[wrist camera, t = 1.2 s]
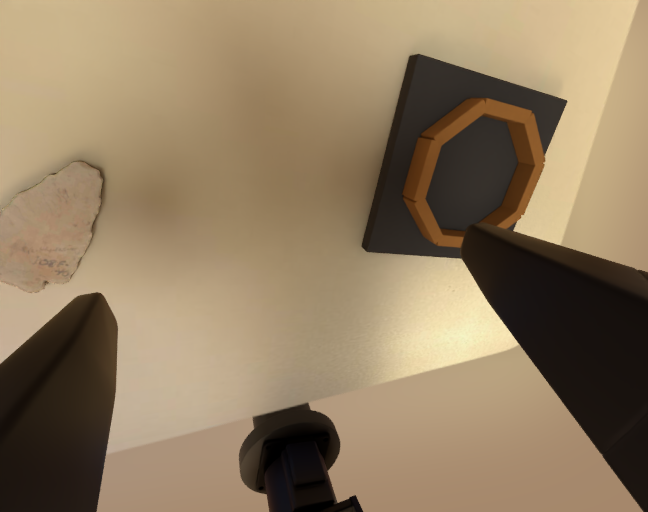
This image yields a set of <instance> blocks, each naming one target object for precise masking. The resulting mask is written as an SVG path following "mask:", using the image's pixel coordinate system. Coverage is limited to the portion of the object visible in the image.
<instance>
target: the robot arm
mask: <svg viewBox="0 0 648 512" xmlns="http://www.w3.org/2000/svg"><path fill="white" fill-rule="evenodd" d="M460 255H461V258H462V259H463V261H464V263H465V265H466V266H467V268H468V270H469V271H470V273H471V275H472V276H473V278H474V280H475V281H476V283H477V285H478V286H479V288H480V290H481V291H482V293H483V295H484V296H485V298H486V299H487V301H488V302H489V304H490V305H491V307H492V308H493V309H494V311H495V312H496V313H497V315H498V316H499V317H500V319H501V320H502V321H503V323H504V324H505V326H506V327H507V328H508V330H509V331H510V332H511V334H512V335H513V336H514V338H515V339H516V340H517V342H518V343H519V344H520V346H521V347H522V348H523V350H524V351H525V352H526V354H527V355H528V356H529V358H530V359H531V360H532V362H533V363H534V365H535V366H536V367H537V368H538V369H539V371H540V373H541V374H542V375H543V377H544V378H545V379H546V381H547V382H548V383H549V385H550V386H551V387H552V389H553V390H554V391H555V393H556V394H557V395H558V397H559V398H560V399H561V401H562V402H563V403H564V405H565V406H566V408H567V409H568V410H569V412H570V413H571V414H572V416H573V417H574V418H575V420H576V421H577V422H578V424H579V425H580V426H581V428H582V429H583V430H584V432H585V433H586V434H587V436H588V437H589V438H590V440H591V441H592V443H593V444H594V445H595V447H596V448H597V449H598V451H599V452H600V453H601V454H603V455H602V456H603V458H604V459H605V460H606V462H607V463H608V465H609V466H610V467H611V469H612V470H613V471H614V473H615V474H616V475H617V477H618V478H619V479H620V481H621V482H622V483H623V485H624V486H625V487H626V489H627V490H628V491H629V493H630V494H631V496H632V497H633V498H634V499H635V501H636V502H637V504H638V505H639V506H640V508H641V509H642V510H643V512H648V272H645V271H642V270H636V269H635V268H632V267H629V266H625V265H622V264H619V263H615V262H612V261H609V260H606V259H602V258H599V257H596V256H592V255H589V254H586V253H583V252H579V251H576V250H573V249H570V248H566V247H563V246H560V245H557V244H553V243H550V242H547V241H543V240H540V239H537V238H534V237H530V236H527V235H524V234H521V233H517V232H514V231H511V230H507V229H504V228H501V227H498V226H494V225H491V224H488V223H484V222H481V223H475V224H471V225H469V226H468V227H467V228H466V231H465V234H464V238H463V241H462V245H461V248H460ZM117 339H118V326H117V321H116V319H115V316H114V315H113V313H112V311H111V309H110V307H109V305H108V303H107V301H106V299H105V297H104V296H103V295H102V294H101V293H98V292H96V293H91V294H85V295H80V296H77V297H76V298H75V299H73V300H72V301H71V302H70V303H69V304H68V305H67V306H65V307H64V308H63V309H62V310H61V311H60V312H59V313H58V314H56V315H55V316H54V317H53V318H52V319H51V320H50V321H49V322H47V323H46V324H45V325H44V326H43V327H42V328H41V329H40V330H38V331H37V332H36V333H35V334H34V335H33V336H32V337H30V338H29V339H28V340H27V341H26V342H25V343H24V344H23V345H21V346H20V347H19V348H18V349H17V350H16V351H15V352H14V353H12V354H11V355H10V356H9V357H8V358H7V359H6V360H4V361H3V362H2V363H1V364H0V512H96V511H97V505H98V499H99V492H100V486H101V481H102V474H103V468H104V462H105V456H106V450H107V444H108V438H109V432H110V426H111V420H112V414H113V408H114V401H115V393H116V370H117ZM330 439H331V437H330V435H329V433H327V432H325V433H317V434H309V435H302V436H294V437H286V438H278V439H271V440H266V441H265V442H264V443H263V445H262V450H261V456H260V462H259V467H258V473H257V478H256V484H255V486H256V491H258V492H260V491H266V492H267V499H268V506H269V512H363V510H362V508H361V506H360V504H359V502H358V500H357V497H356V495H355V496H352V497H350V498H349V499H347V500H345V501H342V502H340V503H337V500H336V497H335V494H334V491H333V487H332V484H331V481H330V478H329V475H328V472H327V468H326V465H325V462H324V461H325V457H326V454H327V450H328V447H329V443H330Z"/></svg>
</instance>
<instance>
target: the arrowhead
mask: <svg viewBox="0 0 648 512" xmlns="http://www.w3.org/2000/svg"><path fill="white" fill-rule="evenodd" d="M102 182H103V178H102V177H101V176H100V171H99V170H97V169H95V168H92V167H91V166H89V165H87V164H86V163H85V162H81V161H78V162H77V161H76V162H71V164H70V165H69V166H67V167H64V168H63V169H62V170H60V171H59V172H58V173H57V174H55V175H48V176H47V177H45V178H44V179H43V181H42V182H41V183H39V184H36V185H35V186H34V187H32V188H30V189H28V190H26V191H24V192H20V193H18V194H16V196H15V197H14V198H13V200H12V201H11V202H10V204H9V205H8V206H6V207H5V208H3V210H2V212H1V214H0V281H2V282H4V283H6V284H9V285H12V286H15V287H18V288H19V289H21V290H23V291H26V292H29V293H32V292H35V293H36V292H39V291H40V290H42V289H45V282H44V281H49V282H50V283H56V284H64V283H67V282H69V281H70V278H71V275H72V274H73V273H74V272H75V270H76V269H77V268H78V266H77V264H78V262H79V260H80V258H81V257H82V256H83V255H84V253H85V250H86V248H87V247H88V246H89V242H90V240H91V238H92V236H93V234H92V224H93V222H94V220H95V218H96V215H97V214H98V212H99V206H100V205H101V199H102V198H101V197H100V195H101V189H102Z"/></svg>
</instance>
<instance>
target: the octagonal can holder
mask: <svg viewBox="0 0 648 512" xmlns="http://www.w3.org/2000/svg"><path fill="white" fill-rule="evenodd" d="M566 103H567V100H564V99H561V98H558V97H555V96H551V95H548V94H545V93H542V92H539V91H535V90H532V89H529V88H526V87H523V86H519V85H516V84H513V83H510V82H507V81H503V80H500V79H497V78H494V77H491V76H487V75H484V74H481V73H478V72H475V71H471V70H468V69H465V68H462V67H459V66H455V65H452V64H449V63H446V62H443V61H440V60H436V59H433V58H430V57H427V56H424V55H420V54H417V55H412V56H410V57H409V61H408V65H407V69H406V73H405V77H404V81H403V85H402V89H401V93H400V97H399V101H398V105H397V109H396V113H395V117H394V121H393V125H392V129H391V132H390V136H389V140H388V144H387V148H386V152H385V156H384V160H383V164H382V168H381V172H380V176H379V180H378V184H377V188H376V192H375V196H374V200H373V204H372V208H371V212H370V216H369V220H368V224H367V228H366V232H365V236H364V239H363V243H362V247H363V248H364V249H365V250H366V251H367V252H376V253H390V254H404V255H418V256H433V257H447V258H461V255H460V248H461V245H462V241H463V238H464V234H465V231H466V228H467V227H468V226H469V225H471V224H475V223H481V222H484V223H488V224H491V225H494V226H498V227H501V228H504V229H507V230H511V231H513V230H514V227H515V225H516V223H517V221H518V220H519V219H520V218H521V215H524V213H525V210H526V208H527V206H528V203H529V201H530V198H531V196H532V194H533V191H534V189H535V187H536V184H537V182H538V180H539V177H540V175H541V172H542V170H543V168H544V165H545V164H543V163H544V162H545V157H544V156H545V153H546V151H547V149H548V146H549V144H550V142H551V139H552V137H553V134H554V132H555V130H556V127H557V125H558V123H559V120H560V118H561V115H562V113H563V111H564V108H565V106H566ZM461 259H462V258H461Z"/></svg>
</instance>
